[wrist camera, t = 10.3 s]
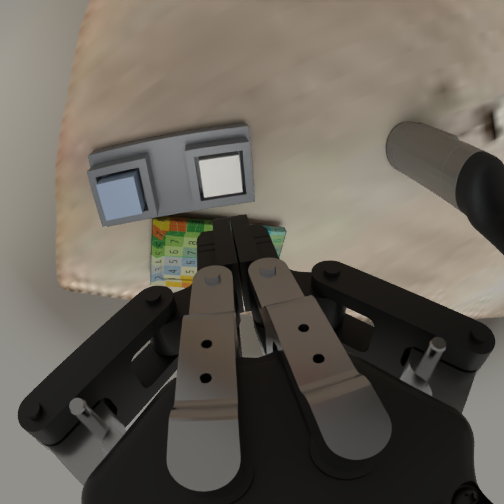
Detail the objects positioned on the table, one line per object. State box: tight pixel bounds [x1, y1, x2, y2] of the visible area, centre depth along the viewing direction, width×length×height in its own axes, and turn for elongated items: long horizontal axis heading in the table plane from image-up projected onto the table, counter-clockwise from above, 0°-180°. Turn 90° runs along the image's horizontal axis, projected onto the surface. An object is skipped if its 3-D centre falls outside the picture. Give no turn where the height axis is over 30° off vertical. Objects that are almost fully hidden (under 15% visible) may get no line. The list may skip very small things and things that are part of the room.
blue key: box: [96, 169, 145, 221], centre depth 36 cm, size 5×5×3 cm
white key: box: [198, 151, 243, 198], centre depth 39 cm, size 5×5×3 cm
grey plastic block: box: [87, 123, 255, 227], centre depth 40 cm, size 22×11×6 cm, turn 94°
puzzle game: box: [151, 216, 286, 288], centre depth 49 cm, size 12×5×20 cm
